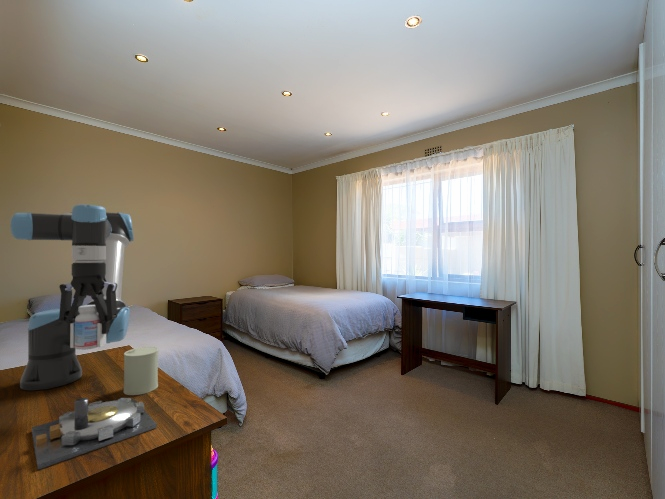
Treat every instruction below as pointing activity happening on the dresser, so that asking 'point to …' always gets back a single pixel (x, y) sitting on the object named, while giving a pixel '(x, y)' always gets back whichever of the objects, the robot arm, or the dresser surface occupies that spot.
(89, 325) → the pill bottle
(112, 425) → the sprocket
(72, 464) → the dresser surface
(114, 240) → the robot arm
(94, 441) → the base plate
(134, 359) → the pale green cylinder
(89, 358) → the dresser surface
